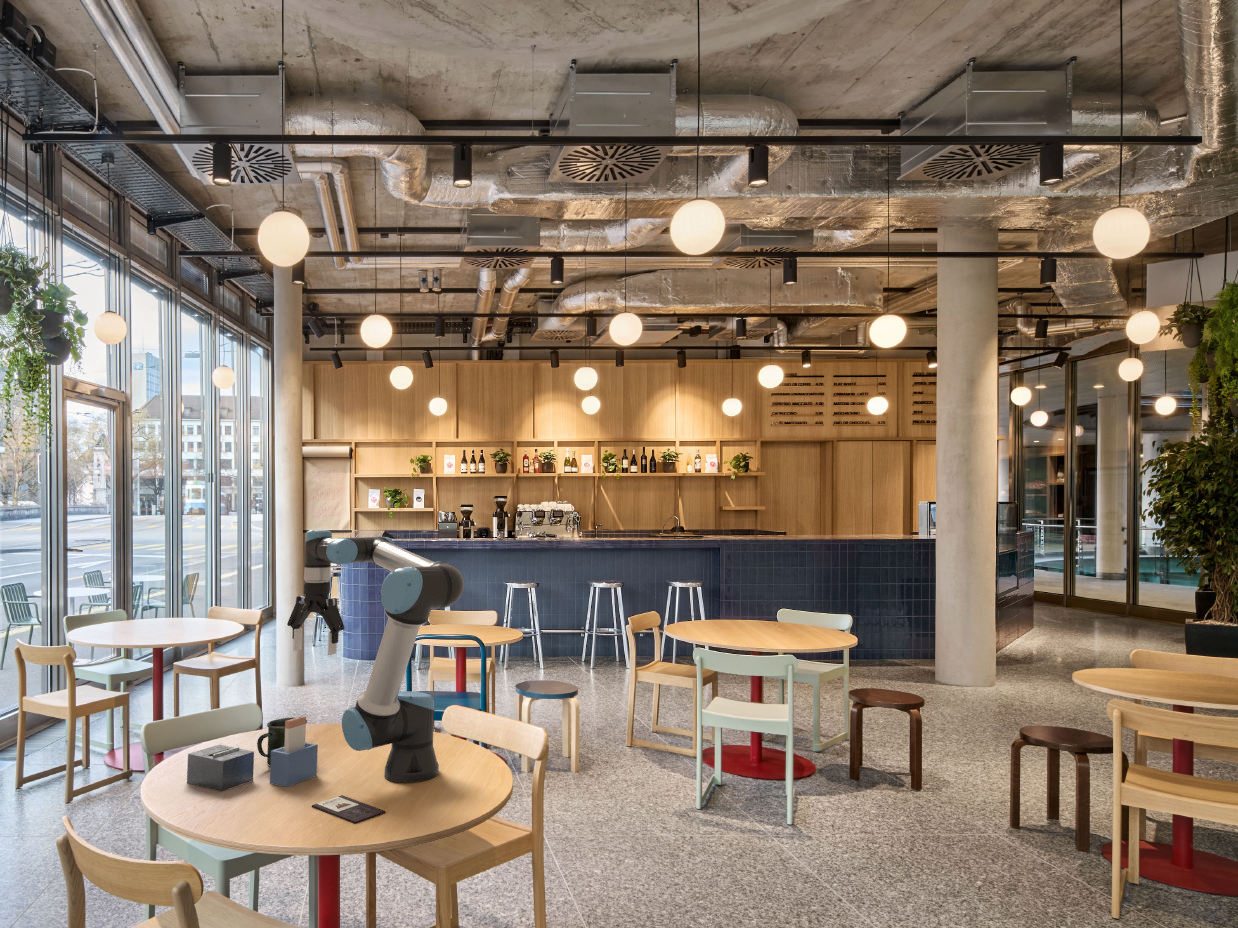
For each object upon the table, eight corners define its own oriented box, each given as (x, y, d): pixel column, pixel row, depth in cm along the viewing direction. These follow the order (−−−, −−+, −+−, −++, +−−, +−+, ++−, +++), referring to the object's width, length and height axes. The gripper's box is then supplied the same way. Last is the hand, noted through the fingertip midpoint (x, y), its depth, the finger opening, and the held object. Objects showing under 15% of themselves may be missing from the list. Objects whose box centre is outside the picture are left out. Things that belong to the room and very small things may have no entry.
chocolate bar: (355, 821, 200) (311, 804, 211) (355, 825, 200) (311, 808, 211) (385, 810, 207) (342, 794, 218) (385, 814, 207) (342, 798, 218)
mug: (313, 761, 247) (314, 721, 248) (267, 774, 236) (268, 731, 236) (292, 754, 254) (294, 715, 254) (247, 766, 242) (248, 724, 243)
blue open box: (316, 775, 235) (317, 744, 235) (286, 786, 225) (288, 754, 226) (299, 772, 238) (300, 741, 238) (269, 783, 228) (270, 750, 228)
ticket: (304, 773, 234) (306, 716, 235) (287, 779, 228) (289, 721, 229) (300, 772, 234) (302, 715, 235) (283, 779, 229) (285, 720, 230)
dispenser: (253, 780, 230) (254, 748, 230) (221, 791, 221) (223, 758, 221) (218, 772, 236) (219, 741, 236) (186, 783, 227) (188, 750, 228)
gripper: (358, 582, 247) (355, 653, 246) (295, 578, 258) (293, 646, 257) (340, 584, 241) (337, 658, 240) (276, 579, 251) (274, 650, 250)
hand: (314, 652), depth 248 cm, fingers open, 13 cm apart
